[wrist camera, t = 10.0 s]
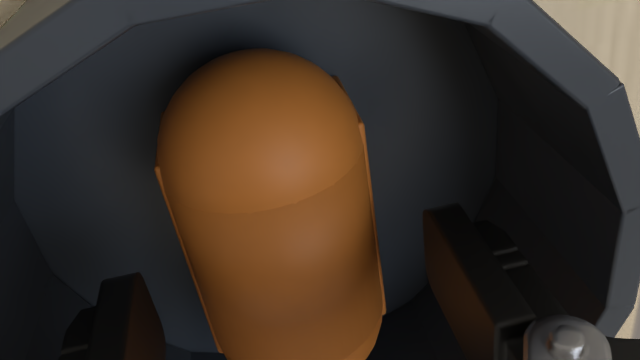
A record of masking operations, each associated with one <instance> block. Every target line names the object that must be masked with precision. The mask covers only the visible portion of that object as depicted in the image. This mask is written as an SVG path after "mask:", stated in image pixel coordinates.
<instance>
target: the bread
mask: <svg viewBox="0 0 640 360" xmlns="http://www.w3.org/2000/svg"><path fill="white" fill-rule="evenodd" d="M154 172H155V174H156V177H157V180H158V183H159V186H160V189H161V191H162V194H163V197H164V200H165V203H166V205H167V208H168V211H169V214H170V217H171V220H172V222H173V225H174V228H175V231H176V234H177V237H178V239H179V242H180V245H181V248H182V251H183V254H184V256H185V259H186V262H187V265H188V268H189V271H190V273H191V276H192V279H193V282H194V285H195V288H196V290H197V293H198V296H199V299H200V302H201V304H202V307H203V310H204V313H205V316H206V319H207V321H208V324H209V327H210V330H211V333H212V336H213V338H214V341H215V344H216V347H217V350H218V351H219V353H224V355H225V357H226V359H227V360H366V359H367V357H368V356H369V354H370V352H371V351H372V349H373V347H374V345H375V343H376V340H377V337H378V333H379V330H380V327H381V323H382V315H384V314H385V313H386V302H385V294H384V286H383V277H382V269H381V260H380V252H379V244H378V235H377V227H376V218H375V210H374V202H373V193H372V185H371V177H370V168H369V160H368V151H367V143H366V135H365V126H364V123H363V122H362V120H361V118H360V116H359V114H358V112H357V111H356V109H355V107H354V105H353V103H352V101H351V100H350V98H349V96H348V94H347V92H346V90H345V88H344V87H343V85H342V83H341V81H340V79H339V78H338V76H330V75H329V74H327V73H326V72H325V71H324V70H322V69H321V68H320V67H319V66H317V65H316V64H314V63H312V62H310V61H308V60H306V59H304V58H302V57H300V56H298V55H295V54H292V53H290V52H284V51H279V50H273V49H267V48H253V49H245V50H239V51H235V52H231V53H228V54H224V55H222V56H219V57H217V58H215V59H213V60H211V61H209V62H208V63H206V64H205V65H203V66H202V67H200V68H199V69H198V70H196V71H195V72H193V73H192V74H191V75H190V76H189V77H188V78H187V79H186V80H185V81H184V82H183V84H182V85H181V86H180V87H179V88H178V89H177V91H176V92H175V93H174V95H173V96H172V98H171V100H170V102H169V104H168V106H167V108H166V110H165V111H164V112H162V113H161V118H160V127H159V134H158V138H157V151H156V159H155V167H154Z"/></svg>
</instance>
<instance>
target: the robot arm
mask: <svg viewBox="0 0 640 360" xmlns="http://www.w3.org/2000/svg"><path fill="white" fill-rule="evenodd" d="M422 217H423V236H424V255H425V267H426V273H427V277H428V280H429V284H430V286H431V289H432V291H433V293H434V295H435V297H436V299H437V301H438V303H439V305H440V307H441V309H442V311H443V313H444V315H445V317H446V319H447V321H448V323H449V325H450V327H451V329H452V331H453V333H454V335H455V337H456V339H457V341H458V343H459V345H460V347H461V349H462V351H463V353H464V355H465V357H466V359H467V360H640V339H622V338H613V337H607V336H604V334H603V333H602V332H601V331H600V330H599V329H598V328H597V327H595V326H594V325H592V324H591V323H589V322H587V321H585V320H583V319H580V318H577V317H574V316H569V315H568V314H567V312H566V311H565V310H564V308H563V307H562V306H561V304H560V303H559V302H558V300H557V299H556V298H555V296H554V295H553V294H552V292H551V291H550V290H549V288H548V287H547V286H546V284H545V283H544V282H543V280H542V279H541V278H540V276H539V275H538V274H537V272H536V271H535V270H534V268H533V267H532V266H531V264H530V265H529V264H528V260H527V259H526V258H525V256H524V255H523V254H522V252H521V251H519V250H518V247H517V246H516V244H515V243H514V242H513V240H512V239H511V238H510V236H509V235H508V234H507V232H506V231H504V230H503V229H501V228H499V227H498V226H496V225H494V224H493V223H491V222H489V221H488V220H482V221H478V222H473V223H472V222H471V220H470V219H469V217H468V216H467V214H466V213H465V211H464V210H463V208H462V207H461V206H460V204H459V203H457V202H456V203H451V204H447V205H442V206H438V207H433V208H429V209H424V211H423V216H422ZM59 360H166V342H165V335H164V330H163V327H162V323H161V321H160V318H159V316H158V313H157V311H156V308H155V306H154V303H153V301H152V298H151V296H150V293H149V291H148V288H147V286H146V283H145V281H144V278H143V276H142V275H141V273H140V272H136V273H131V274H127V275H122V276H117V277H113V278H108V279H104V280H102V282H101V285H100V289H99V294H98V299H97V304H96V306H95V307H90V308H86V309H81V310H80V312H79V313H78V314H77V316H76V317H75V319H74V320H73V321H72V323H71V324H70V325H69V327H68V328H67V330H66V332H65V336H64V340H63V344H62V348H61V356H59Z"/></svg>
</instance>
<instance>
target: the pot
mask: <svg viewBox="0 0 640 360" xmlns="http://www.w3.org/2000/svg"><path fill="white" fill-rule="evenodd" d="M253 48H267V49H273V50H279V51H284V52H290V53H292V54H295V55H298V56H300V57H302V58H304V59H306V60H308V61H310V62H312V63H314V64H316V65H317V66H319V67H320V68H321V69H322V70H324V71H325V72H326V73H327V74H329V75H330V76H338V78H339V79H340V81H341V83H342V85H343V87H344V88H345V90H346V92H347V94H348V96H349V98H350V100H351V101H352V103H353V105H354V107H355V109H356V111H357V112H358V114H359V116H360V118H361V120H362V122H363V123H364V126H365V135H366V143H367V151H368V160H369V168H370V177H371V185H372V193H373V202H374V210H375V218H376V227H377V235H378V244H379V252H380V260H381V269H382V277H383V286H384V294H385V302H386V313H385V314H384V315H382V323H381V327H380V330H379V333H378V337H377V340H376V343H375V345H374V347H373V349H372V351H371V352H370V354H369V356H368V357H367V359H366V360H467V359H466V357H465V355H464V353H463V351H462V349H461V347H460V345H459V343H458V341H457V339H456V337H455V335H454V333H453V331H452V329H451V327H450V325H449V323H448V321H447V319H446V317H445V315H444V313H443V311H442V309H441V307H440V305H439V303H438V301H437V299H436V297H435V295H434V293H433V291H432V289H431V286H430V284H429V280H428V277H427V273H426V267H425V255H424V236H423V217H422V216H423V211H424V209H429V208H433V207H438V206H442V205H447V204H451V203H456V202H457V203H459V204H460V206H461V207H462V208H463V210H464V211H465V213H466V214H467V216H468V217H469V219H470V220H471V222H472V223H473V222H478V221H482V220H488V221H489V222H491V223H493V224H494V225H496V226H498V227H499V228H501V229H503V230H504V231H506V232H507V234H508V235H509V236H510V238H511V239H512V240H513V242H514V243H515V244H516V246H517V247H518V250H519V251H521V252H522V254H523V255H524V256H525V258H526V259H527V260H528V264H529V265H530V264H531V266H532V267H533V268H534V270H535V271H536V272H537V274H538V275H539V276H540V278H541V279H542V280H543V282H544V283H545V284H546V286H547V287H548V288H549V290H550V291H551V292H552V294H553V295H554V296H555V298H556V299H557V300H558V302H559V303H560V304H561V306H562V307H563V308H564V310H565V311H566V312H567V314H568V315H569V316H574V317H577V318H580V319H583V320H585V321H587V322H589V323H591V324H592V325H594V326H595V327H597V328H598V329H599V330H600V331H601V332H602V333H603V334H604V336H607V337H613V338H614V337H615V336H616V334H617V333H618V331H619V330H620V328H621V327H622V325H623V324H624V322H625V321H626V319H627V318H628V316H629V315H630V313H631V312H632V310H633V309H634V304H635V302H636V297H637V292H638V288H639V283H640V138H639V134H638V131H637V128H636V124H635V121H634V117H633V114H632V111H631V107H630V104H629V101H628V97H627V94H626V91H625V87H624V84H623V83H621V82H620V81H619V79H618V77H616V76H615V75H614V74H613V73H612V72H611V71H610V70H609V69H608V68H607V67H605V66H604V65H603V64H602V63H601V62H600V61H599V60H598V59H597V58H596V57H594V56H593V55H592V54H591V53H590V52H589V51H588V50H587V49H586V48H584V47H583V46H582V45H581V44H580V43H579V42H578V41H577V40H576V39H575V38H573V37H572V36H571V35H570V34H569V33H568V32H567V31H566V30H565V29H564V28H562V27H561V26H560V25H559V24H558V23H557V22H556V21H555V20H554V19H553V18H551V17H550V16H549V15H548V14H547V13H546V12H545V11H544V10H543V9H542V8H540V7H539V6H538V5H537V4H536V3H535V2H534V1H533V0H27V1H26V2H25V3H24V4H23V5H22V6H21V7H20V8H19V9H18V10H17V11H16V13H15V14H14V15H13V16H12V17H11V18H10V19H9V20H8V21H7V22H6V23H5V24H4V25H3V26H2V27H1V28H0V360H59V356H61V348H62V344H63V340H64V336H65V332H66V330H67V328H68V327H69V325H70V324H71V323H72V321H73V320H74V319H75V317H76V316H77V314H78V313H79V312H80V310H81V309H86V308H90V307H95V306H96V304H97V299H98V294H99V289H100V285H101V282H102V280H104V279H108V278H113V277H117V276H122V275H127V274H131V273H136V272H140V273H141V275H142V276H143V278H144V281H145V283H146V286H147V288H148V291H149V293H150V296H151V298H152V301H153V303H154V306H155V308H156V311H157V313H158V316H159V318H160V321H161V323H162V327H163V330H164V335H165V342H166V360H227V359H226V357H225V355H224V353H219V351H218V350H217V347H216V344H215V341H214V338H213V336H212V333H211V330H210V327H209V324H208V321H207V319H206V316H205V313H204V310H203V307H202V304H201V302H200V299H199V296H198V293H197V290H196V288H195V285H194V282H193V279H192V276H191V273H190V271H189V268H188V265H187V262H186V259H185V256H184V254H183V251H182V248H181V245H180V242H179V239H178V237H177V234H176V231H175V228H174V225H173V222H172V220H171V217H170V214H169V211H168V208H167V205H166V203H165V200H164V197H163V194H162V191H161V189H160V186H159V183H158V180H157V177H156V174H155V172H154V167H155V159H156V151H157V138H158V134H159V127H160V118H161V113H162V112H164V111H165V110H166V108H167V106H168V104H169V102H170V100H171V98H172V96H173V95H174V93H175V92H176V91H177V89H178V88H179V87H180V86H181V85H182V84H183V82H184V81H185V80H186V79H187V78H188V77H189V76H190V75H191V74H192V73H193V72H195V71H196V70H198V69H199V68H200V67H202V66H203V65H205V64H206V63H208V62H209V61H211V60H213V59H215V58H217V57H219V56H222V55H224V54H228V53H231V52H235V51H239V50H245V49H253Z"/></svg>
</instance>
